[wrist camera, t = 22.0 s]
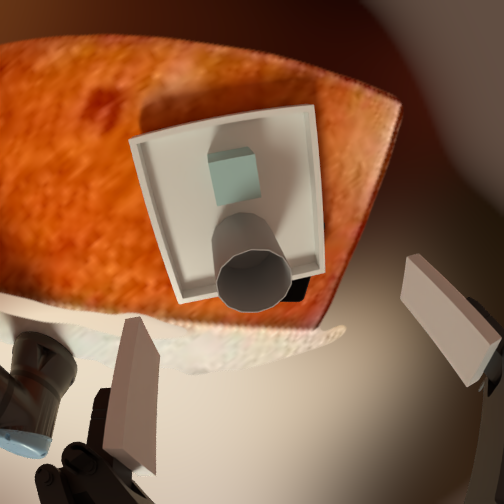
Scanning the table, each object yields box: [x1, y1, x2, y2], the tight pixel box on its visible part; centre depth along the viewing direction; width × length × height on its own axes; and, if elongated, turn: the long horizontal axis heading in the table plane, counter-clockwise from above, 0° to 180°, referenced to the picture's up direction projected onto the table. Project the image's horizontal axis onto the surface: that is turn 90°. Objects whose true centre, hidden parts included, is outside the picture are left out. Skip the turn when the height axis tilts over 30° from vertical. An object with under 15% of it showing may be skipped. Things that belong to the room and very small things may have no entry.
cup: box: [211, 212, 292, 312], centre depth 38 cm, size 8×8×10 cm
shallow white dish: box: [129, 104, 325, 304], centre depth 39 cm, size 22×24×4 cm
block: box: [207, 147, 261, 206], centre depth 35 cm, size 5×5×5 cm
